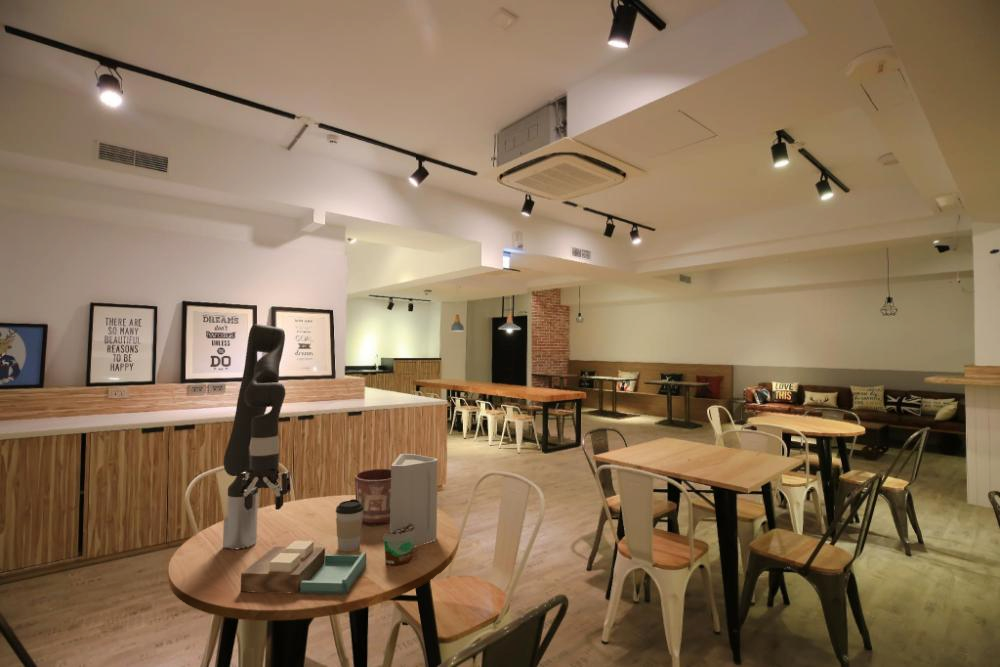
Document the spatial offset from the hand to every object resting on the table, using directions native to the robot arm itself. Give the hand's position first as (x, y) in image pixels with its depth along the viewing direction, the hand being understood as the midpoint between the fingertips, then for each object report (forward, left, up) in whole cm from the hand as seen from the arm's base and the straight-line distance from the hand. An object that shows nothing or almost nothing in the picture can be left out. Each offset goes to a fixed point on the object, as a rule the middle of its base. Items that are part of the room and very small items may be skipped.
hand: (263, 508), depth 135 cm
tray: (+20, +3, -21) cm, 29 cm away
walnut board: (+5, +3, -21) cm, 22 cm away
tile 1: (+7, -1, -16) cm, 17 cm away
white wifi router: (+37, +33, -21) cm, 54 cm away
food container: (+37, +15, -21) cm, 45 cm away
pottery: (+18, +51, -21) cm, 58 cm away
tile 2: (+7, +8, -16) cm, 19 cm away
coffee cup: (+16, +25, -21) cm, 37 cm away
